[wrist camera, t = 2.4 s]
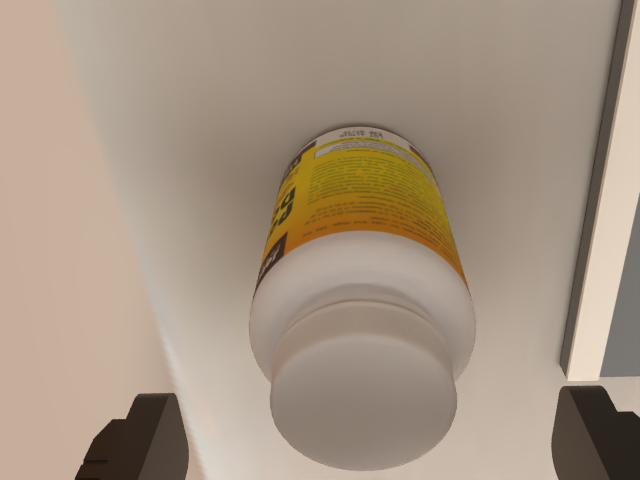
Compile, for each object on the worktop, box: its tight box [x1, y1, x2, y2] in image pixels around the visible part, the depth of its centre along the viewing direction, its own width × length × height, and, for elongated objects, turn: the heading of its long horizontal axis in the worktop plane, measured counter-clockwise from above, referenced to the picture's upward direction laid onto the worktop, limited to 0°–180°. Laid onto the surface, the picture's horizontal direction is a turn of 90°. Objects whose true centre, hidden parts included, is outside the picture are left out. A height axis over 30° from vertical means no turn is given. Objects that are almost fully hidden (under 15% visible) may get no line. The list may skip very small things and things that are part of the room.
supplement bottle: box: [249, 127, 476, 471], centre depth 17 cm, size 6×6×10 cm
